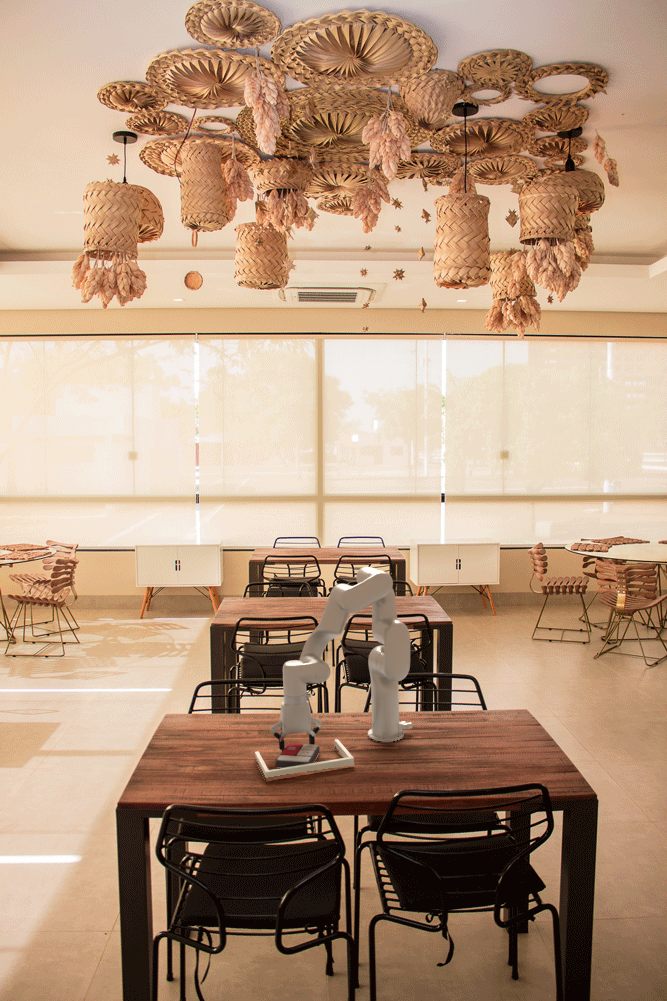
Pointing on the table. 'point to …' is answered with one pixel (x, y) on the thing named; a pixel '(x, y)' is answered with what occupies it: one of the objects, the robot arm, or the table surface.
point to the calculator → (297, 755)
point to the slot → (342, 762)
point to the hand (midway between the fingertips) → (297, 749)
